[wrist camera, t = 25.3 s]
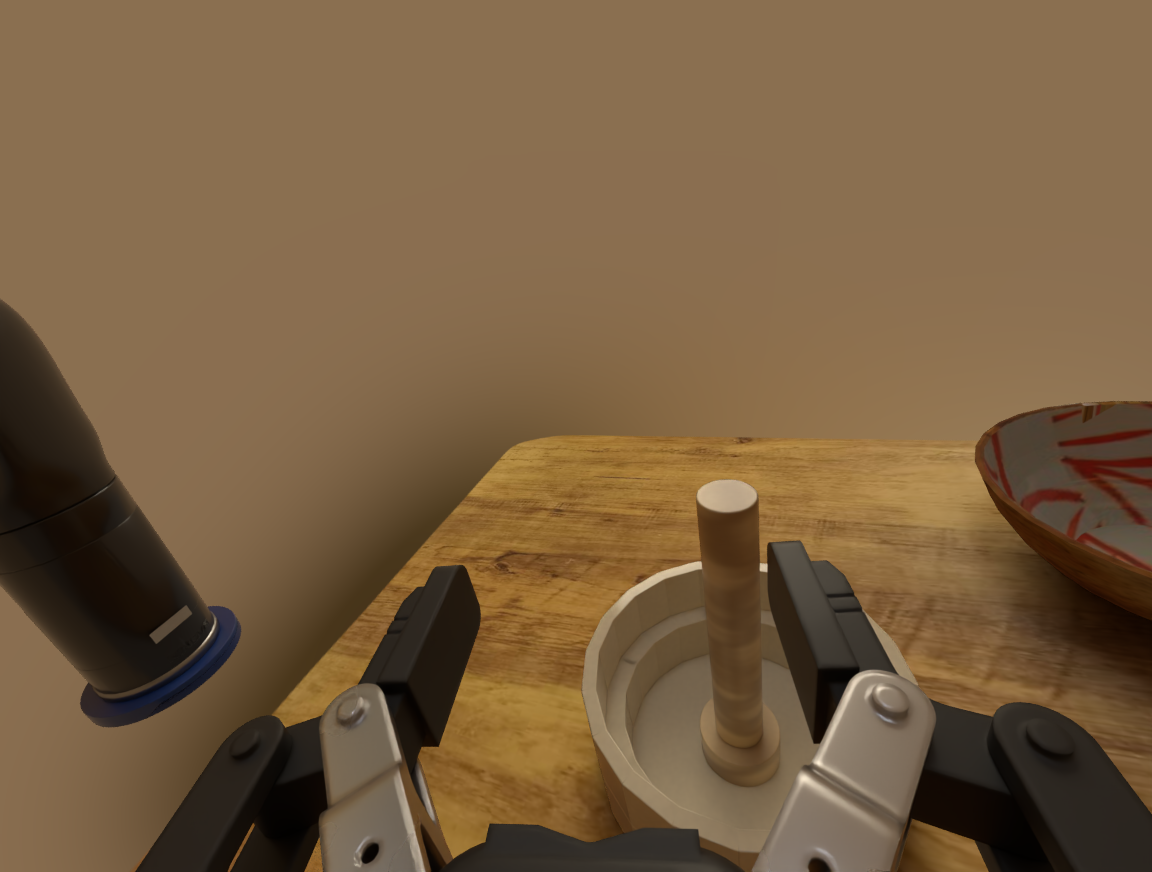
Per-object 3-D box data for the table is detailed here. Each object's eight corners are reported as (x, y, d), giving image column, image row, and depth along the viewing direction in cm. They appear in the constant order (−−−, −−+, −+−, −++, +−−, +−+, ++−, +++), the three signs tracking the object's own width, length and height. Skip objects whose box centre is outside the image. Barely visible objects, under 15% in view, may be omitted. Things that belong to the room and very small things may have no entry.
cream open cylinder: (593, 925, 24) (563, 844, 20) (610, 641, 38) (595, 567, 35) (980, 953, 21) (1019, 863, 17) (838, 633, 35) (845, 552, 32)
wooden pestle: (706, 786, 28) (678, 530, 20) (698, 712, 31) (671, 473, 24) (789, 788, 27) (794, 521, 19) (770, 711, 31) (767, 464, 23)
